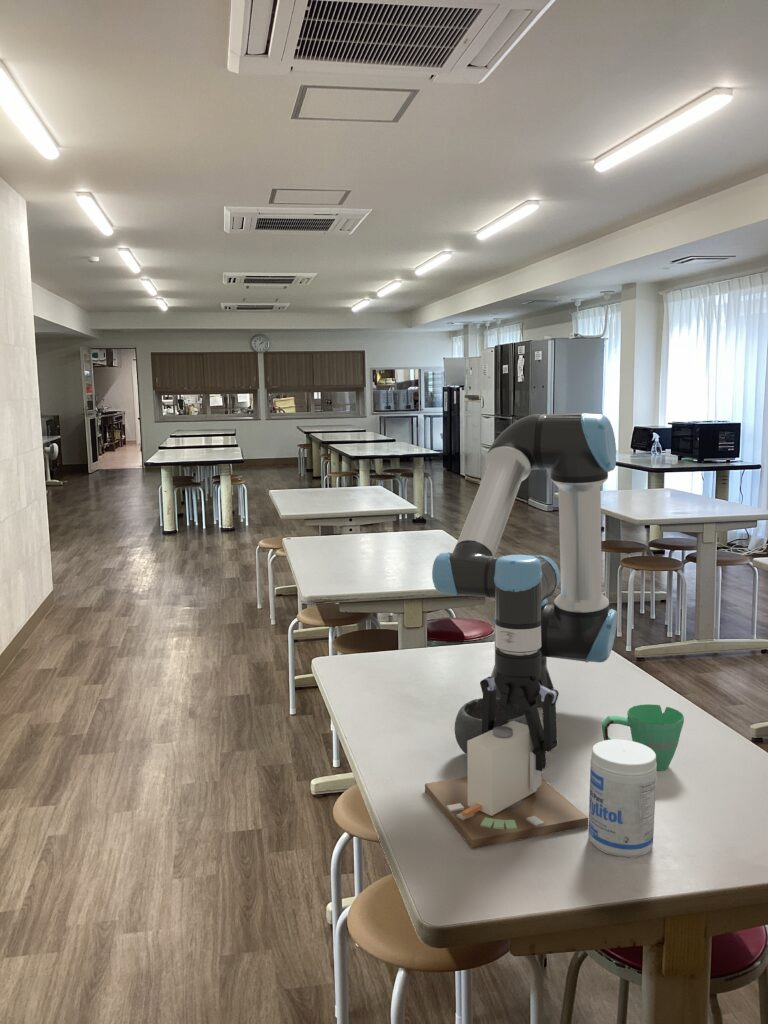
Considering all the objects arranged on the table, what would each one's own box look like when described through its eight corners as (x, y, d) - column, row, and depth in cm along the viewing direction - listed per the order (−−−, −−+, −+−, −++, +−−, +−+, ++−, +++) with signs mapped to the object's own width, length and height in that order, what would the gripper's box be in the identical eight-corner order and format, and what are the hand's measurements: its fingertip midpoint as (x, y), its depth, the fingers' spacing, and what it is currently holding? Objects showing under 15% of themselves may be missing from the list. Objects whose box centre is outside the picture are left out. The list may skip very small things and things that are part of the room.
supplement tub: (577, 845, 126) (578, 752, 124) (605, 821, 133) (606, 733, 131) (638, 867, 119) (641, 770, 118) (664, 840, 127) (666, 748, 125)
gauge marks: (514, 795, 139) (514, 793, 139) (544, 824, 129) (544, 822, 129) (446, 807, 135) (446, 805, 135) (473, 838, 125) (473, 836, 125)
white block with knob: (513, 781, 143) (513, 716, 142) (536, 790, 140) (537, 723, 138) (452, 813, 132) (451, 742, 131) (476, 824, 129) (476, 752, 127)
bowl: (440, 751, 161) (440, 702, 159) (507, 738, 166) (507, 690, 165) (479, 783, 147) (479, 729, 146) (549, 767, 153) (550, 715, 152)
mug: (672, 754, 157) (673, 703, 156) (690, 777, 148) (691, 723, 146) (594, 755, 158) (595, 704, 157) (607, 778, 148) (608, 724, 147)
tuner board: (528, 774, 150) (528, 765, 150) (588, 826, 131) (588, 816, 131) (425, 791, 144) (424, 782, 144) (472, 849, 125) (472, 838, 125)
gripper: (458, 645, 140) (460, 777, 143) (560, 663, 129) (559, 805, 132) (481, 635, 146) (482, 761, 149) (580, 652, 135) (579, 788, 138)
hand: (518, 782), depth 140 cm, fingers closed on white block with knob, 5 cm apart
